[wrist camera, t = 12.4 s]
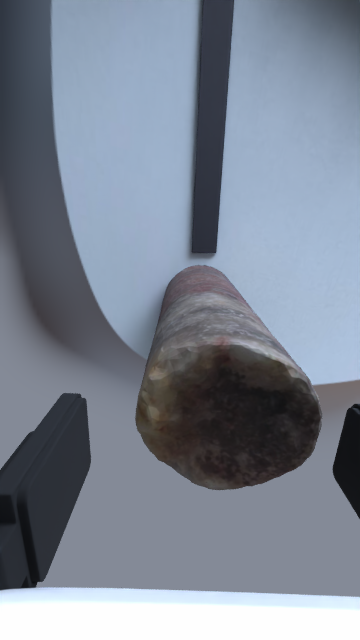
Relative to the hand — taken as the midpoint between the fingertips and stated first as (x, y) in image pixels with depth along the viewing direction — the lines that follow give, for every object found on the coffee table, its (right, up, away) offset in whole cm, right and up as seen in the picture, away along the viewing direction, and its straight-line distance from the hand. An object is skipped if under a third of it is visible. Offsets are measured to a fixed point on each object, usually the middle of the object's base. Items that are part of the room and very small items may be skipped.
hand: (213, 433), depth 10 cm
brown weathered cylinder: (+1, +6, +19) cm, 20 cm away
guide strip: (+2, +24, +14) cm, 27 cm away
